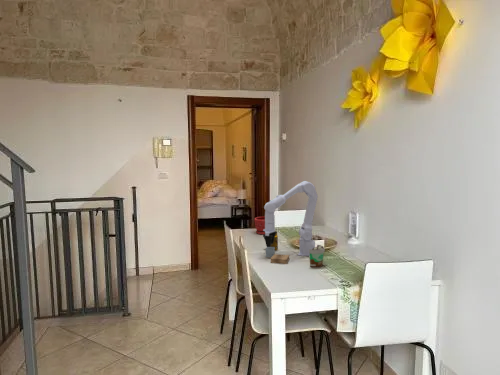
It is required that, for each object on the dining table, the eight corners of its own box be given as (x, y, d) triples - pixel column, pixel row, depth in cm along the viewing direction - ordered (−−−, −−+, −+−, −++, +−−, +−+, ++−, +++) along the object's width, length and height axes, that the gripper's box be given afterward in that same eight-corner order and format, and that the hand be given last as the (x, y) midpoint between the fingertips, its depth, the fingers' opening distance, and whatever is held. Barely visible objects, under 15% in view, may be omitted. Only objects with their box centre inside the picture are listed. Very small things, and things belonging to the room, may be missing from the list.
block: (274, 255, 221) (274, 247, 220) (273, 257, 216) (272, 248, 216) (267, 254, 222) (267, 246, 221) (265, 256, 217) (265, 248, 217)
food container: (319, 269, 192) (320, 251, 191) (308, 267, 195) (309, 249, 194) (328, 263, 203) (328, 245, 202) (317, 261, 206) (317, 244, 205)
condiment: (280, 250, 231) (280, 231, 230) (269, 252, 227) (269, 233, 225) (273, 247, 237) (273, 229, 236) (263, 249, 233) (262, 231, 231)
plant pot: (260, 230, 288) (260, 215, 287) (275, 232, 280) (275, 217, 279) (251, 233, 277) (251, 218, 276) (265, 236, 270) (265, 220, 268)
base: (289, 259, 211) (289, 255, 211) (286, 264, 203) (286, 259, 202) (274, 258, 214) (274, 254, 213) (270, 262, 205) (270, 258, 205)
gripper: (266, 220, 225) (266, 241, 226) (260, 224, 211) (260, 247, 213) (277, 220, 223) (277, 242, 224) (272, 225, 209) (272, 248, 211)
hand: (269, 245), depth 218 cm, fingers open, 7 cm apart
